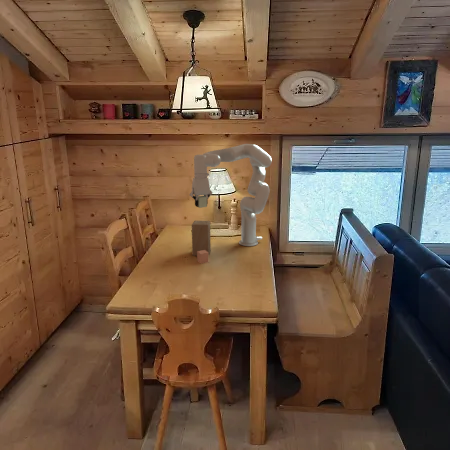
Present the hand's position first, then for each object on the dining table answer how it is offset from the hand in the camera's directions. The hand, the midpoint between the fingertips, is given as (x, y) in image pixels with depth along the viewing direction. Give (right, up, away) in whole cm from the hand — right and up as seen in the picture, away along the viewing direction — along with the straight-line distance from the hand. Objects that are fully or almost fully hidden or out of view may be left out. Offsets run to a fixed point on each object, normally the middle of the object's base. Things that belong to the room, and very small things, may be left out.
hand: (201, 205), depth 251 cm
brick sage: (0, 0, 0) cm, 1 cm away
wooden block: (0, -30, +8) cm, 31 cm away
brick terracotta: (+1, -33, -5) cm, 33 cm away
